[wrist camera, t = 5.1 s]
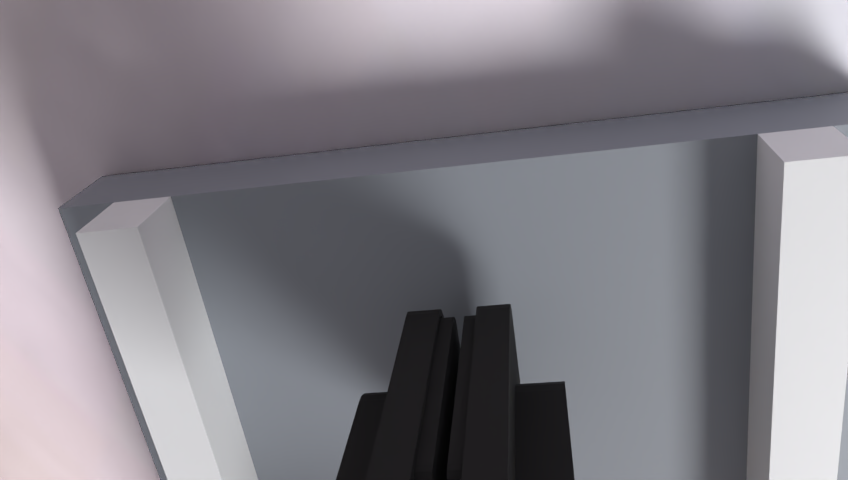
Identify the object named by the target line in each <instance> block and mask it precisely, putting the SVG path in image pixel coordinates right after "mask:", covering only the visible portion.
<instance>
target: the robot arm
mask: <svg viewBox="0 0 848 480" xmlns="http://www.w3.org/2000/svg"><path fill="white" fill-rule="evenodd" d="M336 480H575V478H574V468H573V458H572V448H571V438H570V428H569V418H568V408H567V398H566V388H565V381H561V382H544V383H527V384H520V376H519V367H518V359H517V350H516V342H515V333H514V325H513V316H512V309H511V304H501V305H488V306H477V308H476V315H473V316H464V322H463V331H462V339H461V348H460V343H459V336H458V329H457V323H456V319H455V317H446V318H444V315H443V312H442V310H441V309H435V310H422V311H409V312H407V315H406V318H405V322H404V326H403V330H402V334H401V339H400V343H399V347H398V351H397V355H396V359H395V363H394V367H393V371H392V375H391V379H390V383H389V387H388V391H387V392H376V393H364V394H363V395H362V396H361V398H360V400H359V403H358V407H357V410H356V413H355V417H354V420H353V424H352V427H351V430H350V434H349V437H348V440H347V444H346V447H345V451H344V454H343V457H342V461H341V464H340V467H339V471H338V474H337V477H336Z"/></svg>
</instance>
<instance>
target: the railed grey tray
mask: <svg viewBox="0 0 848 480" xmlns="http://www.w3.org/2000/svg"><path fill="white" fill-rule="evenodd" d="M58 209H59V212H60V214H61V217H62V220H63V222H64V225H65V228H66V230H67V233H68V236H69V238H70V241H71V244H72V246H73V249H74V251H75V254H76V257H77V259H78V262H79V265H80V267H81V270H82V273H83V275H84V278H85V281H86V283H87V286H88V289H89V291H90V294H91V297H92V299H93V302H94V305H95V307H96V310H97V312H98V315H99V318H100V320H101V323H102V326H103V328H104V331H105V334H106V336H107V339H108V342H109V344H110V347H111V350H112V352H113V355H114V358H115V360H116V363H117V365H118V368H119V371H120V373H121V376H122V379H123V381H124V384H125V387H126V389H127V392H128V395H129V397H130V400H131V403H132V405H133V408H134V411H135V413H136V416H137V418H138V421H139V424H140V426H141V429H142V432H143V434H144V437H145V440H146V442H147V445H148V448H149V450H150V453H151V456H152V458H153V461H154V464H155V466H156V469H157V471H158V474H159V477H160V479H161V480H336V477H337V474H338V471H339V467H340V464H341V461H342V457H343V454H344V451H345V447H346V444H347V440H348V437H349V434H350V430H351V427H352V424H353V420H354V417H355V413H356V410H357V407H358V403H359V400H360V398H361V396H362V395H363V394H364V393H376V392H387V391H388V387H389V383H390V379H391V375H392V371H393V367H394V363H395V359H396V355H397V351H398V347H399V343H400V339H401V334H402V330H403V326H404V322H405V318H406V315H407V312H409V311H422V310H435V309H441V310H442V312H443V315H444V318H446V317H455V319H456V323H457V329H458V336H459V343H460V348H461V339H462V331H463V322H464V316H473V315H476V308H477V306H488V305H501V304H511V309H512V316H513V325H514V333H515V342H516V350H517V359H518V367H519V376H520V384H527V383H544V382H561V381H565V388H566V398H567V408H568V418H569V428H570V438H571V448H572V458H573V468H574V478H575V480H848V93H839V94H830V95H821V96H812V97H803V98H795V99H786V100H777V101H768V102H759V103H750V104H741V105H732V106H724V107H715V108H706V109H697V110H688V111H679V112H670V113H661V114H653V115H644V116H635V117H626V118H617V119H608V120H599V121H590V122H581V123H573V124H564V125H555V126H546V127H537V128H528V129H519V130H510V131H502V132H493V133H484V134H475V135H466V136H457V137H448V138H439V139H430V140H422V141H413V142H404V143H395V144H386V145H377V146H368V147H359V148H351V149H342V150H333V151H324V152H315V153H306V154H297V155H288V156H280V157H271V158H262V159H253V160H244V161H235V162H226V163H217V164H208V165H200V166H191V167H182V168H173V169H164V170H155V171H146V172H137V173H129V174H120V175H111V176H102V177H101V178H99V179H98V180H97V181H95V182H94V183H93V184H91V185H90V186H88V187H87V188H86V189H84V190H83V191H82V192H80V193H79V194H77V195H76V196H75V197H73V198H72V199H70V200H69V201H68V202H66V203H65V204H64V205H62V206H61V207H59V208H58Z"/></svg>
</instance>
